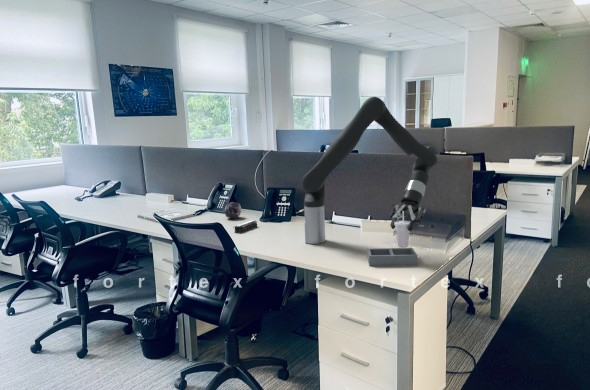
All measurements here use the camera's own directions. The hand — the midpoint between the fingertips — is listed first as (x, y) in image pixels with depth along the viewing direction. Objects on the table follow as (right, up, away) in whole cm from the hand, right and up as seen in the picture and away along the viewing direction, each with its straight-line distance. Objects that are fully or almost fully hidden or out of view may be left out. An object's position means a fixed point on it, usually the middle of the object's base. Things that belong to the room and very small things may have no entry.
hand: (400, 229), depth 164 cm
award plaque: (-122, -1, +105) cm, 161 cm away
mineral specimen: (-78, -1, +91) cm, 120 cm away
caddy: (-3, -13, +4) cm, 14 cm away
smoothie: (+1, -7, +3) cm, 8 cm away
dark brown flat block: (-65, -6, +65) cm, 92 cm away
